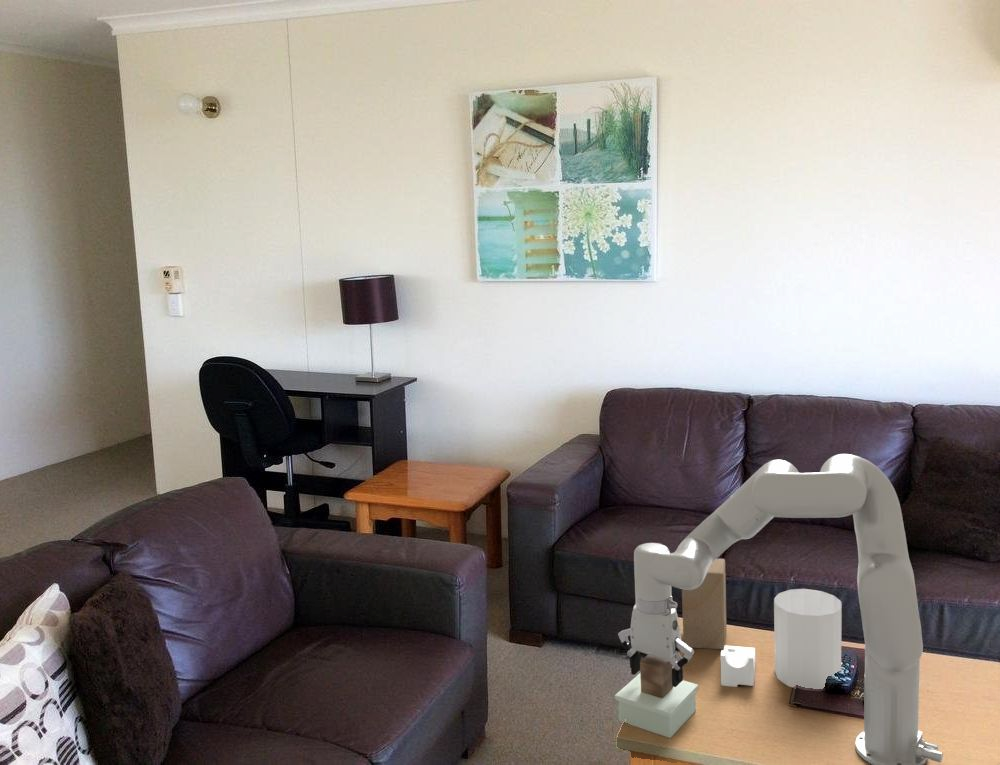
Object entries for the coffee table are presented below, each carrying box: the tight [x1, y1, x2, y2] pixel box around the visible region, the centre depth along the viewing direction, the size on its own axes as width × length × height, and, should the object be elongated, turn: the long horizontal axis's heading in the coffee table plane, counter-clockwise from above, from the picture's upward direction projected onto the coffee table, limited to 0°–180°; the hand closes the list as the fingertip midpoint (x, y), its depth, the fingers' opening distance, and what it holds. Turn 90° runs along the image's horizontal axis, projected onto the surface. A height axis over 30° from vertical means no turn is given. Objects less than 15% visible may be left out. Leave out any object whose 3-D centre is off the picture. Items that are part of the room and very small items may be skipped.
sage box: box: [614, 672, 699, 739], centre depth 186 cm, size 13×13×6 cm
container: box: [773, 588, 842, 689], centre depth 197 cm, size 14×14×18 cm
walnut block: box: [639, 654, 674, 698], centre depth 185 cm, size 5×5×7 cm
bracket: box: [720, 644, 756, 688], centre depth 201 cm, size 13×7×8 cm, turn 162°
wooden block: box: [681, 557, 727, 651], centre depth 217 cm, size 10×10×20 cm
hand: (656, 677), depth 185 cm, fingers open, 9 cm apart
